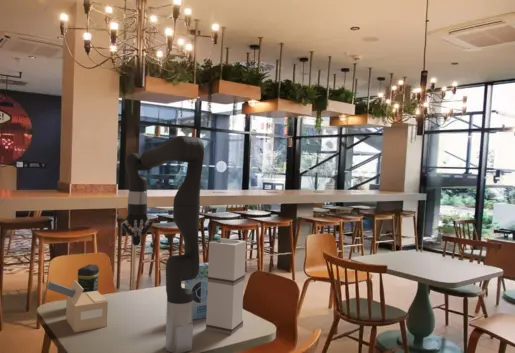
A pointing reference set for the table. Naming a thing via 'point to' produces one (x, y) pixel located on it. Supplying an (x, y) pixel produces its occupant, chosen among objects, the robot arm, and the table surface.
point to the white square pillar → (225, 285)
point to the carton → (87, 312)
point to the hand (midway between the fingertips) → (136, 245)
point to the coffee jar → (88, 278)
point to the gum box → (199, 291)
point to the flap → (67, 290)
